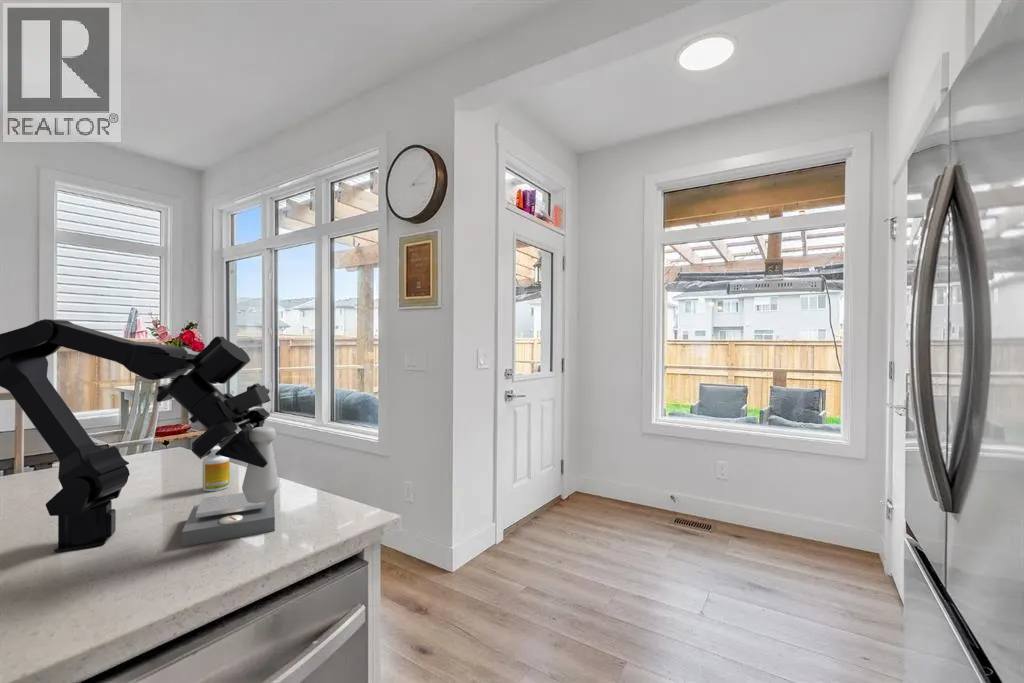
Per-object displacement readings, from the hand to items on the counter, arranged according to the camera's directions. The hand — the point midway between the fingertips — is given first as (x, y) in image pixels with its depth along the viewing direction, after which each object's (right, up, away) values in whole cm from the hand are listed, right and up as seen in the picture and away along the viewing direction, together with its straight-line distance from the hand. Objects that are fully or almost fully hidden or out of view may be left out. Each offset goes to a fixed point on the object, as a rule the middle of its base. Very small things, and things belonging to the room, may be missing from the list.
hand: (269, 462), depth 83 cm
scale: (-9, -13, +4) cm, 16 cm away
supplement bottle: (-26, -13, +25) cm, 39 cm away
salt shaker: (-1, -7, 0) cm, 7 cm away
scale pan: (-10, -10, +5) cm, 15 cm away
